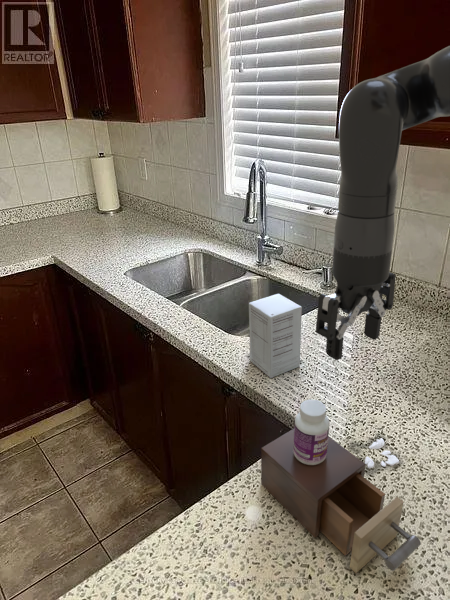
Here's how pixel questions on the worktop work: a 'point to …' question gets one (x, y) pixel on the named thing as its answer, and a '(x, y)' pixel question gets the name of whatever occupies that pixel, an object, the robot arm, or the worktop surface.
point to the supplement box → (275, 334)
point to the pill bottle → (311, 432)
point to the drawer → (364, 524)
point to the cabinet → (305, 478)
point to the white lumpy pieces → (391, 458)
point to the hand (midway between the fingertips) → (353, 346)
